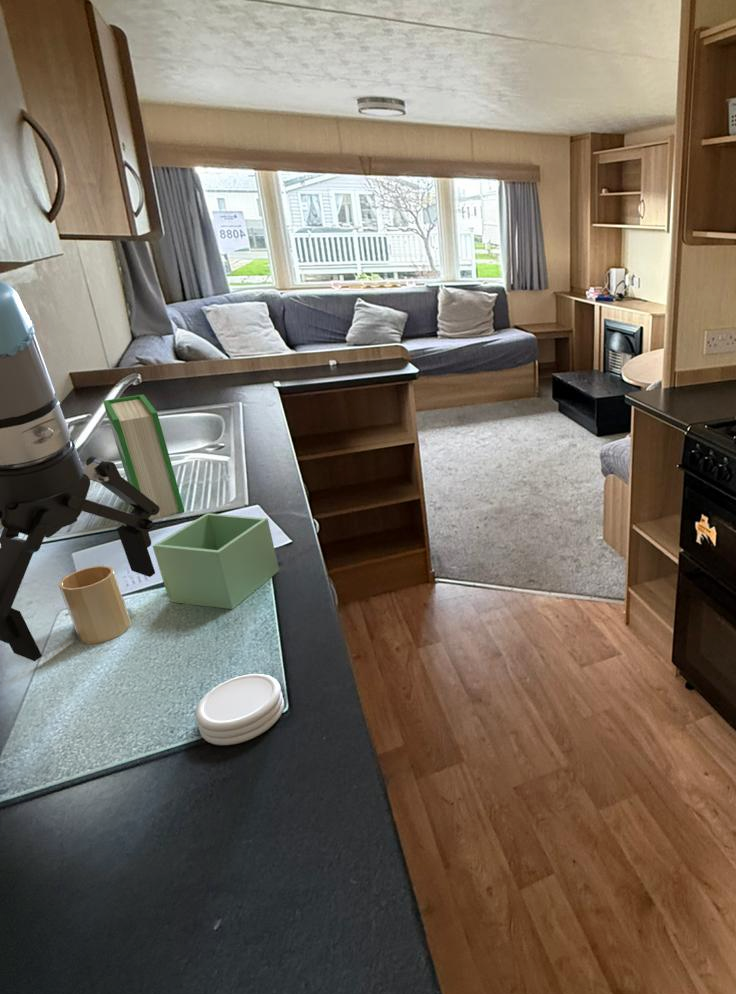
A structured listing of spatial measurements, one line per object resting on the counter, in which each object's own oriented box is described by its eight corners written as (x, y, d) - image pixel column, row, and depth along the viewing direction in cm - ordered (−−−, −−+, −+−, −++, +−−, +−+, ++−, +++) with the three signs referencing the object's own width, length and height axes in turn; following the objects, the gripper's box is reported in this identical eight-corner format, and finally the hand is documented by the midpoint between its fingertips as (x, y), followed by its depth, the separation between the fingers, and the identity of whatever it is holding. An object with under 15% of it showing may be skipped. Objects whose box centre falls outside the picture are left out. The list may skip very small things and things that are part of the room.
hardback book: (186, 517, 141) (157, 412, 132) (146, 528, 137) (113, 420, 128) (170, 492, 154) (143, 394, 144) (133, 501, 149) (102, 400, 140)
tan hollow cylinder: (68, 641, 102) (47, 587, 98) (106, 615, 108) (87, 564, 104) (105, 646, 101) (85, 591, 97) (141, 620, 107) (124, 567, 103)
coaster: (194, 757, 80) (187, 735, 79) (207, 703, 89) (201, 683, 88) (283, 734, 84) (277, 713, 82) (286, 684, 92) (282, 664, 91)
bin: (169, 601, 112) (152, 545, 107) (220, 564, 123) (207, 512, 119) (233, 609, 109) (218, 552, 105) (279, 571, 121) (267, 518, 117)
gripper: (-105, 537, 50) (-2, 710, 61) (167, 404, 70) (207, 552, 82) (-177, 510, 51) (-63, 685, 63) (111, 387, 72) (157, 535, 83)
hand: (90, 610), depth 72 cm, fingers open, 13 cm apart
